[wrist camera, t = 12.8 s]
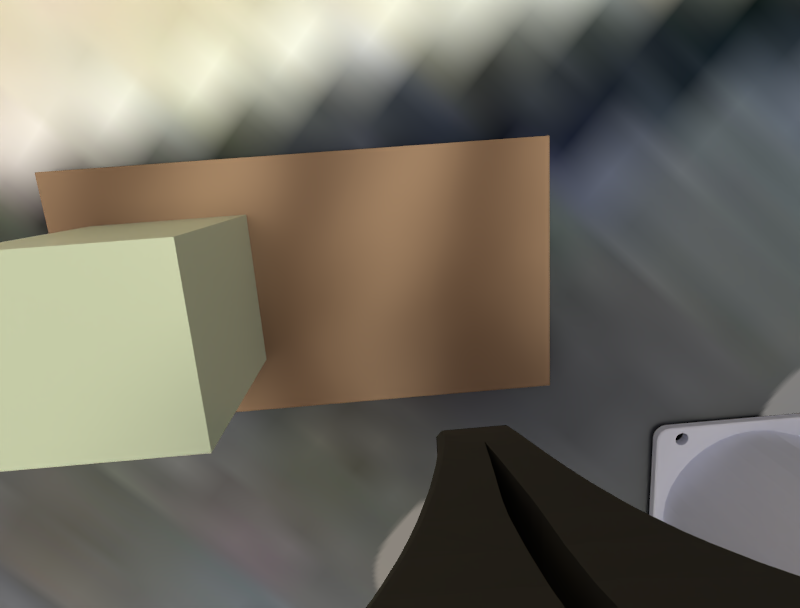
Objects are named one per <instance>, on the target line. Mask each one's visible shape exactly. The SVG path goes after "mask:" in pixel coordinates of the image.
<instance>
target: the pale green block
mask: <svg viewBox="0 0 800 608" xmlns="http://www.w3.org/2000/svg"><path fill="white" fill-rule="evenodd" d="M265 361H266V352H265V345H264V338H263V331H262V324H261V317H260V310H259V303H258V295H257V288H256V281H255V274H254V267H253V260H252V253H251V246H250V239H249V231H248V224H247V217H246V215H235V216H221V217H208V218H194V219H181V220H168V221H154V222H141V223H127V224H114V225H101V226H89V227H84V228H78V229H72V230H67V231H61V232H56V233H50V234H45V235H39V236H33V237H28V238H22V239H17V240H11V241H6V242H0V471H12V470H23V469H35V468H46V467H58V466H69V465H80V464H92V463H103V462H115V461H126V460H137V459H149V458H160V457H172V456H183V455H195V454H206V453H212V451H213V450H214V448H215V446H216V444H217V443H218V441H219V439H220V438H221V436H222V434H223V432H224V431H225V429H226V427H227V426H228V424H229V422H230V421H231V419H232V417H233V415H234V414H235V412H236V410H237V409H238V407H239V405H240V404H241V402H242V400H243V398H244V397H245V395H246V393H247V392H248V390H249V388H250V387H251V385H252V383H253V381H254V380H255V378H256V376H257V375H258V373H259V371H260V370H261V368H262V366H263V364H264V363H265Z"/></svg>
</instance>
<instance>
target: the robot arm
mask: <svg viewBox="0 0 800 608" xmlns="http://www.w3.org/2000/svg"><path fill="white" fill-rule="evenodd" d="M681 433H683V435H682V437H681V438H680V439H679V440H676V437H677V436H678V435H679V434H681ZM436 438H437V455H438V456H437V462H436V467H435V471H434V475H433V478H432V482H431V486H430V489H429V492H428V495H427V498H426V500H425V503H424V505H423V508H422V510H421V513H420V516H419V518H418V521H417V523H416V525H415V527H414V529H413V532H412V534H411V536H410V538H409V540H408V542H407V544H406V545H405V547H404V549H403V551H402V553H401V555H400V557H399V558H398V560H397V562H396V563H395V565H394V566H393V568H392V570H391V571H390V573H389V574H388V576H387V578H386V579H385V581H384V583H383V584H382V586H381V587H380V589H379V590H378V592H377V593H376V594H375V596H374V597H373V599H372V600H371V602H370V603H369V604H368V606H367V607H366V608H800V413H796V414H785V415H774V416H761V417H750V418H739V419H727V420H716V421H705V422H693V423H682V424H671V425H664V426H661V427H659V428H658V429H657V430H656V431H655V432H654V436H653V449H652V468H651V488H650V508H649V514H647V513H645V512H642V511H641V510H639V509H637V508H635V507H633V506H631V505H629V504H627V503H625V502H624V501H622V500H620V499H618V498H617V497H615V496H613V495H612V494H610V493H608V492H606V491H605V490H603V489H601V488H599V487H598V486H596V485H594V484H593V483H591V482H589V481H588V480H586V479H585V478H583V477H581V476H580V475H578V474H577V473H575V472H574V471H572V470H571V469H569V468H567V467H566V466H565V465H563V464H562V463H560V462H559V461H557V460H556V459H554V458H553V457H551V456H550V455H548V454H547V453H545V452H544V451H543V450H541V449H540V448H538V447H537V446H536V445H534V444H533V443H531V442H530V441H529V440H527V439H526V438H524V437H523V436H522V435H520V434H519V433H517V432H516V431H514V430H513V429H511V428H510V427H508V426H507V425H502V426H490V427H479V428H467V429H456V430H444V431H441V432H440V434H439V435H438V436H437V437H436Z"/></svg>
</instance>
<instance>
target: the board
mask: <svg viewBox="0 0 800 608" xmlns="http://www.w3.org/2000/svg"><path fill="white" fill-rule="evenodd" d="M35 176H36V180H37V185H38V189H39V193H40V197H41V202H42V206H43V210H44V215H45V219H46V223H47V228H48V232H49V234H50V233H56V232H61V231H67V230H72V229H78V228H84V227H89V226H101V225H114V224H127V223H141V222H154V221H168V220H181V219H194V218H208V217H221V216H235V215H246V217H247V224H248V231H249V239H250V246H251V253H252V260H253V267H254V274H255V281H256V288H257V295H258V303H259V310H260V317H261V324H262V331H263V338H264V345H265V352H266V361H265V363H264V364H263V366H262V368H261V370H260V371H259V373H258V375H257V376H256V378H255V380H254V381H253V383H252V385H251V387H250V388H249V390H248V392H247V393H246V395H245V397H244V398H243V400H242V402H241V404H240V405H239V407H238V409H237V410H236V412H242V411H253V410H265V409H277V408H288V407H300V406H312V405H323V404H335V403H347V402H359V401H370V400H382V399H394V398H405V397H417V396H429V395H440V394H452V393H464V392H476V391H487V390H499V389H511V388H522V387H534V386H546V385H550V222H549V136H539V137H525V138H511V139H497V140H483V141H469V142H455V143H441V144H427V145H413V146H399V147H385V148H371V149H357V150H343V151H329V152H316V153H302V154H288V155H274V156H260V157H246V158H232V159H218V160H204V161H190V162H176V163H162V164H148V165H134V166H120V167H106V168H92V169H78V170H64V171H50V172H36V173H35Z"/></svg>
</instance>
